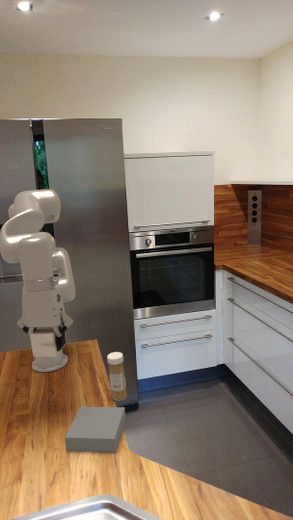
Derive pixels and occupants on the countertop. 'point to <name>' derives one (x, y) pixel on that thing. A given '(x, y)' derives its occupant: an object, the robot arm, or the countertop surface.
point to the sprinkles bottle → (117, 376)
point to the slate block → (96, 429)
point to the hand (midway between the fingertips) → (48, 348)
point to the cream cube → (44, 342)
